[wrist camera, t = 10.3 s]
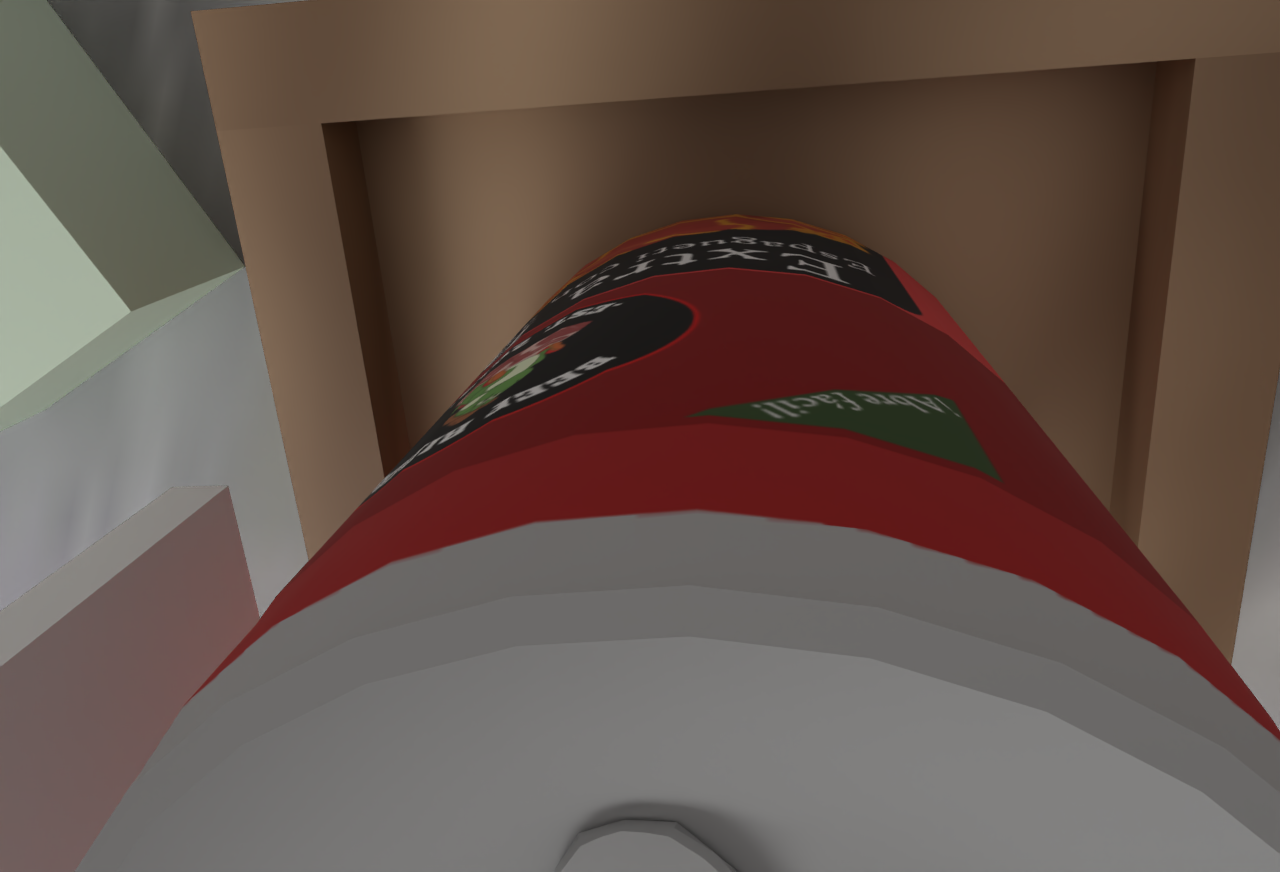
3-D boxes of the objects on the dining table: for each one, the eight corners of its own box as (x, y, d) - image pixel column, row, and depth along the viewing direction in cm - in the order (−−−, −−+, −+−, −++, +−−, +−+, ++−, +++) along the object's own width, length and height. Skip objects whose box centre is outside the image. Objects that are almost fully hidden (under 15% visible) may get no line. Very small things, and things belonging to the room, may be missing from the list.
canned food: (858, 103, 13) (1201, 227, 3) (1072, 570, 15) (1701, 1566, 5) (407, 351, 15) (-291, 924, 5) (651, 734, 17) (503, 1685, 7)
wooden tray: (454, 683, 22) (371, 853, 18) (346, 26, 18) (191, 11, 13) (1093, 685, 21) (1196, 876, 16) (1170, -46, 16) (1355, -96, 11)
